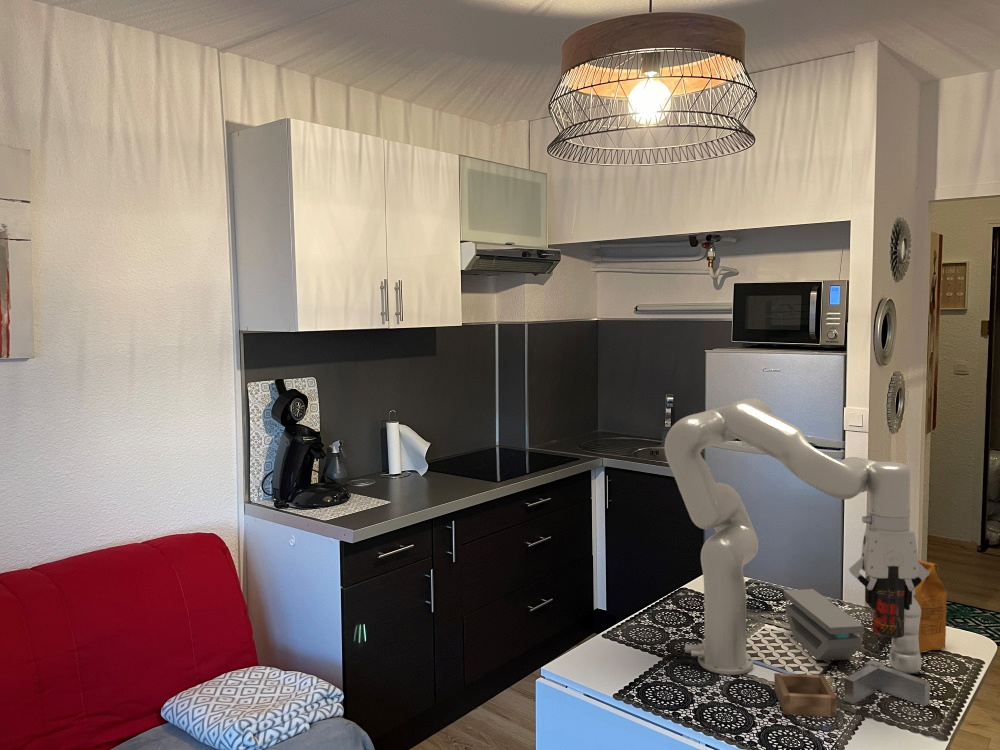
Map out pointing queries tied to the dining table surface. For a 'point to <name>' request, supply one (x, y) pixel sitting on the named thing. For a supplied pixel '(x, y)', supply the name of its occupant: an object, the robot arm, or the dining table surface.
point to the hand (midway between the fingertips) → (888, 606)
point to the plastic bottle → (908, 642)
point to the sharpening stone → (822, 626)
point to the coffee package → (931, 610)
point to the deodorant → (889, 605)
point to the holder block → (805, 695)
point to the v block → (885, 684)
